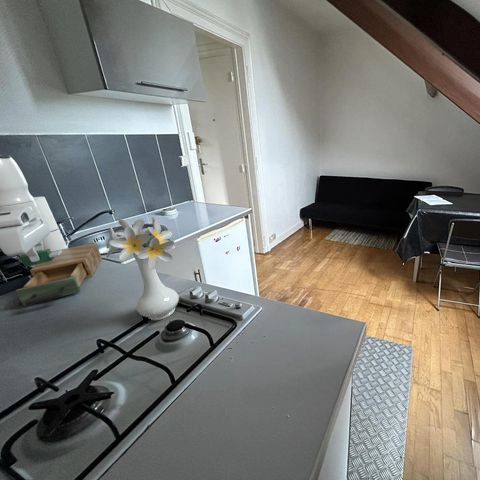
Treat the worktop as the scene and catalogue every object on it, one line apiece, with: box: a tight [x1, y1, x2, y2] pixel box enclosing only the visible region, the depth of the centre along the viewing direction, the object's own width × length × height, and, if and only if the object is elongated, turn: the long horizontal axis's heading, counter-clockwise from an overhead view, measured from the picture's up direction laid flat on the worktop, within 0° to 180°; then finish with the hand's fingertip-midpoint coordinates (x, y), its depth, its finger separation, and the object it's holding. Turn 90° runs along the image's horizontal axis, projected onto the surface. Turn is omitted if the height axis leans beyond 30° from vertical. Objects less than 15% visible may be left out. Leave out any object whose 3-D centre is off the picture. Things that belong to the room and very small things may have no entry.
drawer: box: [15, 262, 88, 306], centre depth 80 cm, size 21×12×5 cm, turn 30°
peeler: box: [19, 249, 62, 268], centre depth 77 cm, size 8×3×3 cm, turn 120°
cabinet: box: [29, 242, 103, 279], centre depth 92 cm, size 18×14×7 cm
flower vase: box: [105, 217, 180, 321], centre depth 63 cm, size 13×18×25 cm
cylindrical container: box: [33, 196, 69, 251], centre depth 99 cm, size 7×7×25 cm
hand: (38, 258), depth 77 cm, fingers closed on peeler, 2 cm apart
